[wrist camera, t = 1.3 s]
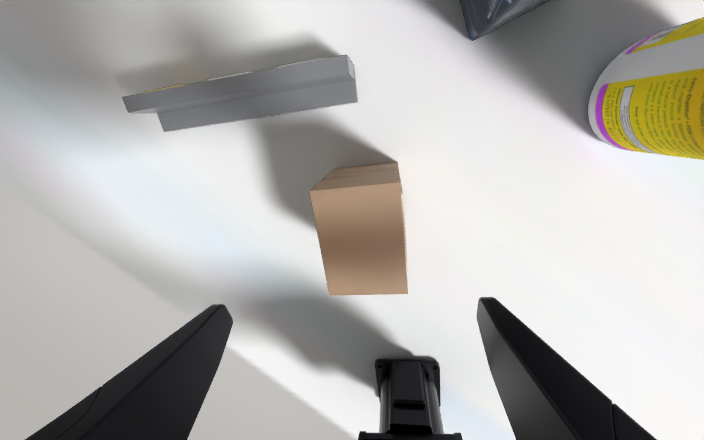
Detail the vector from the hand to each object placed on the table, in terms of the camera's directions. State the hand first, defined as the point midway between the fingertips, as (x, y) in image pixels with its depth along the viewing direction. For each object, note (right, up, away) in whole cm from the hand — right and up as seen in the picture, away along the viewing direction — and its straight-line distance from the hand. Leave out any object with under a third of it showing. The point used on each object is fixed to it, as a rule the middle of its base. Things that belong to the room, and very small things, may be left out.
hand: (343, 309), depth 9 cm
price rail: (-7, +13, +10) cm, 18 cm away
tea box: (+2, +4, +13) cm, 13 cm away
